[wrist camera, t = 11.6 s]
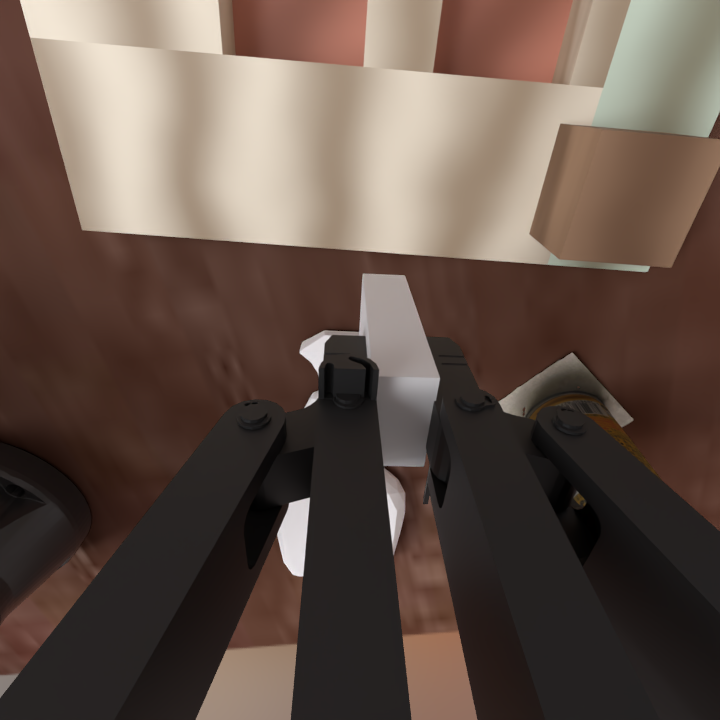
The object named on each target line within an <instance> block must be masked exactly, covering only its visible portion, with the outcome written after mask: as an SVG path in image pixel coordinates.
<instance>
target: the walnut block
mask: <svg viewBox="0 0 720 720" xmlns="http://www.w3.org/2000/svg"><path fill="white" fill-rule="evenodd" d="M719 167H720V139H715V138H707V137H698V136H690V135H682V134H674V133H665V132H653V131H642V130H630V129H618V128H606V127H595V126H583V125H571V124H560V126H559V130H558V133H557V137H556V141H555V144H554V148H553V151H552V155H551V158H550V162H549V165H548V169H547V172H546V176H545V180H544V183H543V187H542V190H541V194H540V197H539V201H538V204H537V208H536V211H535V215H534V218H533V222H532V226H531V229H530V233H529V234H530V235H531V236H532V237H533V238H534V239H536V240H537V241H538V242H539V243H540V244H542V245H543V246H544V247H545V248H546V249H547V250H549V251H550V252H551V253H552V254H553V255H555V256H556V257H557V258H558V259H560V260H573V261H587V262H600V263H613V264H626V265H640V266H653V267H666V268H671V267H672V265H673V263H674V261H675V259H676V256H677V254H678V252H679V250H680V248H681V246H682V244H683V242H684V240H685V238H686V236H687V233H688V231H689V229H690V227H691V225H692V223H693V221H694V219H695V217H696V215H697V213H698V210H699V208H700V206H701V204H702V202H703V200H704V198H705V196H706V194H707V192H708V190H709V187H710V185H711V183H712V181H713V179H714V177H715V175H716V173H717V171H718V169H719Z"/></svg>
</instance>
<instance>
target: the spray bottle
mask: <svg viewBox="0 0 720 720" xmlns="http://www.w3.org/2000/svg"><path fill="white" fill-rule="evenodd" d="M332 335H353V336H359V332H350V331H328V330H324V331H322V332H320V333H318V334H317V335H315V336H313V337H311V338H309V339H307V340H305V341H303V342H302V344H301V348H300V354H301V355H303V356H304V357H305V358H306V359H308V360H309V361H310V362H311V363H312V365H313V366H314V368H315V369H316V371H317V373H318V376H319V366H320V364H321V362H322V361H323V358H324V346H325V342H326V341H327V340H328V339H329V338H330V337H331V336H332ZM317 399H318V391H315V392H313V393H312V395H311V397H310V398H309V400H308V402H307V404H306V406H305V407H304V408H306V407H308V406H310V405H311V404H313V403H314V402H315V401H316V400H317ZM384 473H385V482H386V492H387V501H388V510H389V519H390V528H391V537H392V547H393V556H394V552H395V549H396V546H397V542H398V539H399V535H400V532H401V528H402V524H403V519H404V515H405V492H404V490H403V488H402V486H401V484H400V482H399V480H398V479H397V478H396V477H395V476H394V475H393V474H391V473H390V472H389V471H388V470H386V469H385V468H384ZM309 503H310V498H306V499H302V500H299V501H295V502H291V503H289V507H288V510H287V513H286V515H285V517H284V519H283V522H282V524H281V526H280V529H279V531H278V533H277V536H278V541H279V545H280V549H281V553H282V557H283V562H284V563H285V565H286V566H287V567H288V569H289V570H290V571H291V573H292V574H293V575H296V576H303V573H304V561H305V549H306V538H307V526H308V514H309Z"/></svg>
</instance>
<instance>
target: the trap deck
mask: <svg viewBox="0 0 720 720" xmlns="http://www.w3.org/2000/svg"><path fill="white" fill-rule="evenodd" d="M20 2H21V5H22V9H23V13H24V17H25V20H26V24H27V28H28V31H29V35H30V39H31V42H32V46H33V50H34V54H35V57H36V61H37V65H38V68H39V72H40V76H41V79H42V83H43V87H44V91H45V94H46V98H47V102H48V105H49V109H50V113H51V116H52V120H53V124H54V127H55V131H56V135H57V139H58V142H59V146H60V150H61V153H62V157H63V161H64V164H65V168H66V172H67V176H68V179H69V183H70V187H71V190H72V194H73V198H74V201H75V205H76V209H77V212H78V216H79V220H80V224H81V227H82V230H88V231H102V232H115V233H129V234H142V235H156V236H169V237H182V238H196V239H209V240H223V241H236V242H249V243H263V244H276V245H290V246H303V247H317V248H330V249H343V250H357V251H370V252H384V253H397V254H410V255H424V256H437V257H451V258H464V259H478V260H491V261H504V262H518V263H531V264H545V265H558V266H572V267H585V268H598V269H612V270H625V271H639V272H648V270H649V268H650V266H640V265H626V264H613V263H600V262H587V261H573V260H560V259H558V258H557V257H556V256H555V255H553V254H552V253H551V252H550V251H549V250H547V249H546V248H545V247H544V246H543V245H542V244H540V243H539V242H538V241H537V240H536V239H534V238H533V237H532V236H531V235H530V234H529V233H530V229H531V226H532V222H533V218H534V215H535V211H536V208H537V204H538V201H539V197H540V194H541V190H542V187H543V183H544V180H545V176H546V172H547V169H548V165H549V162H550V158H551V155H552V151H553V148H554V144H555V141H556V137H557V133H558V130H559V126H560V124H571V125H583V126H595V127H606V128H618V129H630V130H642V131H653V132H665V133H674V134H682V135H690V136H698V137H707V138H708V137H709V134H710V132H711V130H712V128H713V125H714V123H715V121H716V119H717V117H718V114H719V112H720V0H20Z"/></svg>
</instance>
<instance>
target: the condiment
mask: <svg viewBox="0 0 720 720" xmlns="http://www.w3.org/2000/svg"><path fill="white" fill-rule="evenodd" d="M578 386H579V387H580V388H577V387H578ZM499 403H500V405H501V407H502V409H503V411H504V412H506V413H509V414H512V415H516V416H520V417H525V418H529V419H533V420H535V419H536V416H537V413H538V412H539V411H540V410H541V409H542V408H545V407H548V406H562V407H568V408H572V409H574V410H576V411H579V412H581V413H583V414H585V415H586V416H588V417H589V418H591V419H592V420H594V421H595V422H596V423H597V424H598V425H599V426H600V427H602V428H603V429H604V430H605V431H606V432H607V433H608V434H610V435H611V436H612V437H613V438H614V439H615V440H616V441H618V442H619V443H620V444H621V445H622V446H623V447H624V448H625V449H627V450H628V451H629V452H630V453H631V454H632V455H633V456H635V457H636V458H637V459H638V460H639V461H640V462H641V463H642V464H644V465H645V466H646V467H647V468H648V469H649V470H650V471H652V472H653V473H654V474H655V475H656V476H657V477H658V478H659V479H660V477H659V476H658V474H657V473H656V472H655V471H654V470H653V468H652V467H651V466H650V464H649V463H648V462H647V460H646V459H645V458H644V456H643V455H642V454H641V453H640V451H639V450H638V449H637V447H636V446H635V445H634V443H633V442H632V441H631V439H630V438H629V436H628V435H627V434H626V433H625V432H624V430H623V429H622V427H623V426H625V425H627V424H629V423H630V422H632V421H633V418H632V417H631V416H630V415H629V414H628V413H627V412H626V411H625V410H624V409H623V407H622V406H621V405H620V404H619V403H618V402H617V401H616V400H615V399H614V398H613V396H612V395H611V394H610V393H609V392H608V391H607V390H606V389H605V388H604V386H602V384H601V383H600V382H599V381H598V380H597V379H596V378H595V377H594V376H593V374H592V373H591V372H590V371H589V370H588V369H587V368H586V367H585V366H584V365H583V364H582V363H581V362H580V360H579V359H578V358H577V357H576V356H575V355H574V354H573V353H571V354H569V355H567V356H566V357H564V358H563V359H562V360H559V361H557V362H556V363H554V364H553V365H551V366H550V367H548V368H547V369H545V370H544V371H543V372H541V373H539V374H537V375H536V376H534V377H533V378H532V379H530V380H529V381H527V382H526V383H525V384H523V385H522V386H520V387H518V388H516V389H515V390H514V391H513V392H512V393H511V394H509V395H508V396H507V397H505V398H503V399H502V400H500V401H499ZM524 407H525V411H524V412H525V415H524V416H523V415H522V414H523V408H524ZM573 498H574V500H575V501H576V502H577V503H578V504H579V505H580V506H582V507H584V506H585V504H586V502H587V501H586V500H585V499H584V498H583V497H582V496H581V495H580V494H579V493H578V491H576V493H575V495H574V497H573Z"/></svg>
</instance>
